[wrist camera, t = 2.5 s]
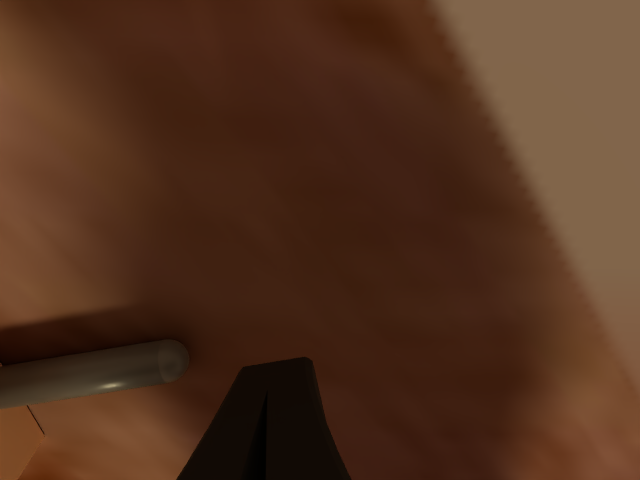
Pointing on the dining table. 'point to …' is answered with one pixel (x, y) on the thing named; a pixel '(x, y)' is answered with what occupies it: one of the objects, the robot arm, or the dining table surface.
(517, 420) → the dining table surface
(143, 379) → the tan handled block
